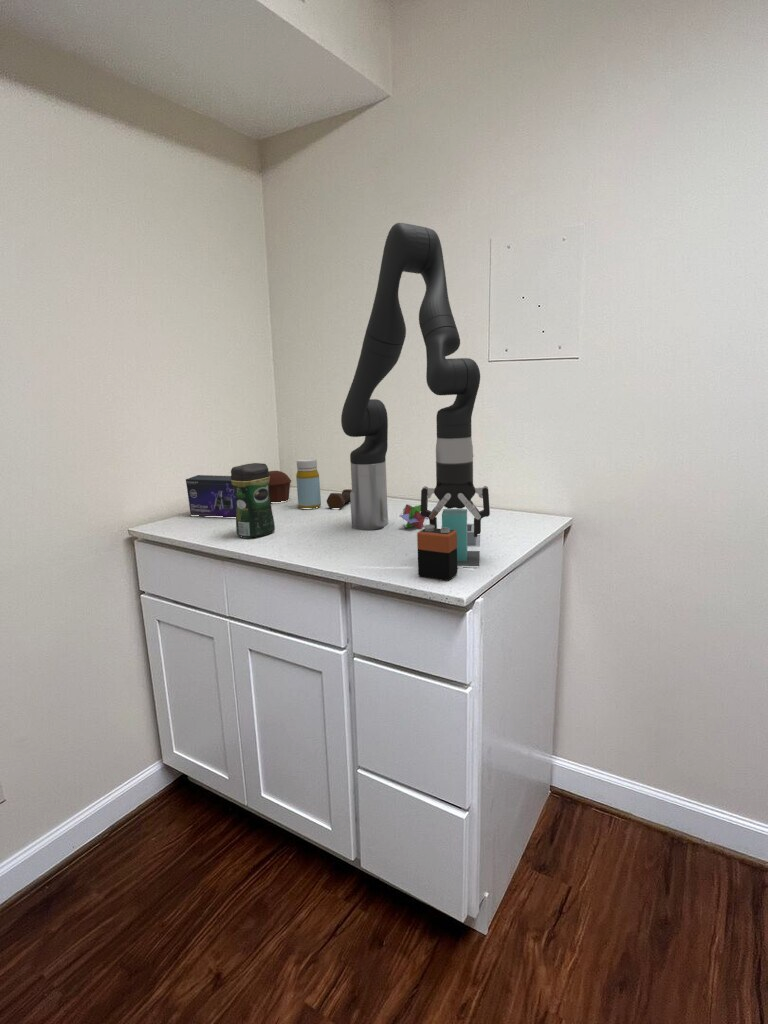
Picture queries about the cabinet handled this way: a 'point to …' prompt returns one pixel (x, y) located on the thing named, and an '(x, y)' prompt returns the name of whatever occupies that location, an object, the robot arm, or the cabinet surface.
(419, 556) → the battery
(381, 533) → the cabinet surface
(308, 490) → the bottle
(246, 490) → the coffee jar
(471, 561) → the mat
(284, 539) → the cabinet surface
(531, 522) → the cabinet surface
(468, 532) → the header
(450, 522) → the teal block
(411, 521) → the geometric puzzle
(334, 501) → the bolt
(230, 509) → the box
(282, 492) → the muffin
